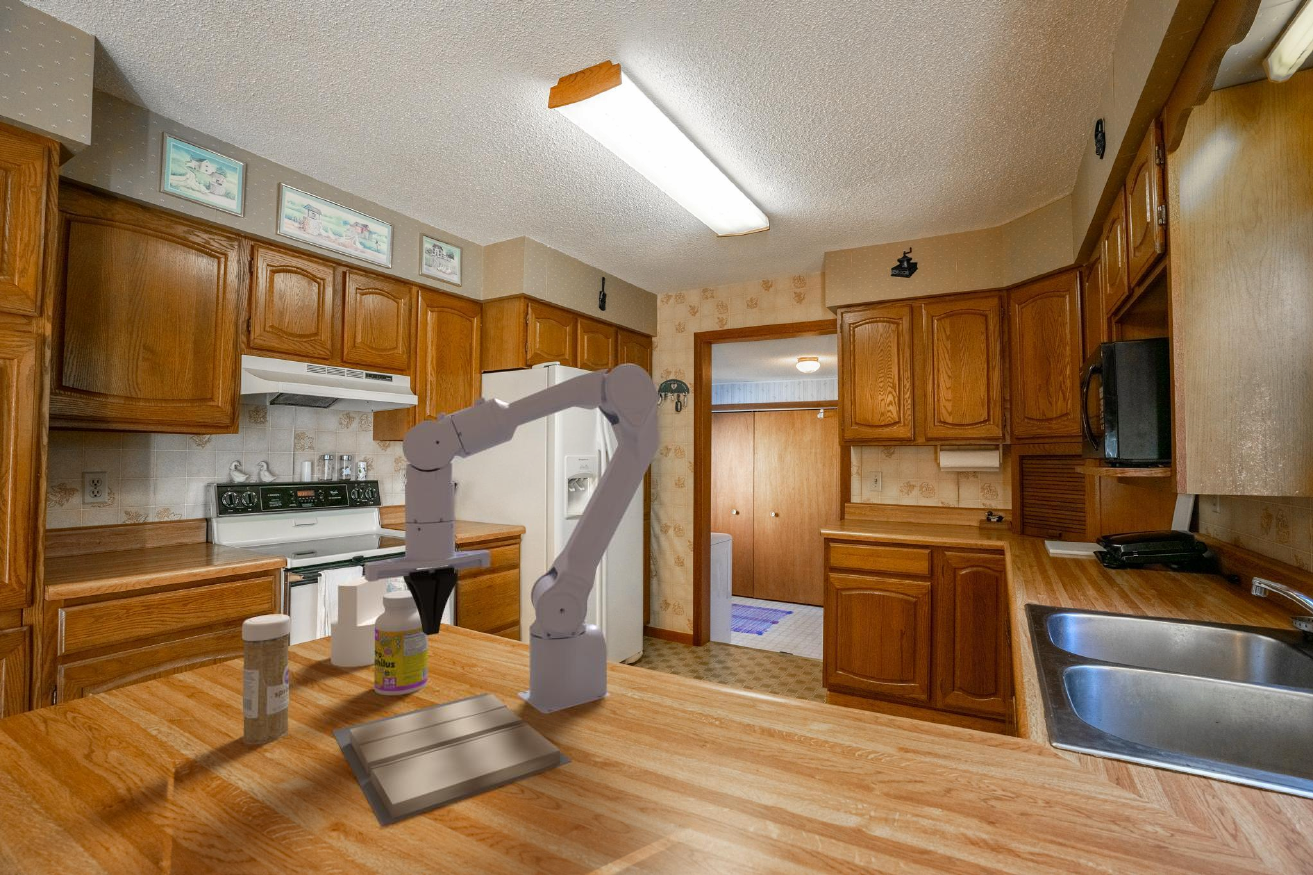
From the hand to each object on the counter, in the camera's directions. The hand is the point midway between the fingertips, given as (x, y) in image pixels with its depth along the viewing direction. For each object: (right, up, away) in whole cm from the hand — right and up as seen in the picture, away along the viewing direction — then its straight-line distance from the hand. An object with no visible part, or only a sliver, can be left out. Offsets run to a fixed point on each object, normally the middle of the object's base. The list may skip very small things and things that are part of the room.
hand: (430, 632), depth 76 cm
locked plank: (+9, -9, -15) cm, 20 cm away
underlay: (+5, -10, -10) cm, 14 cm away
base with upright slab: (-18, -11, +21) cm, 30 cm away
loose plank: (+3, -9, -8) cm, 12 cm away
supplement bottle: (-7, -10, +8) cm, 14 cm away
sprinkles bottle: (-16, -10, -7) cm, 20 cm away
